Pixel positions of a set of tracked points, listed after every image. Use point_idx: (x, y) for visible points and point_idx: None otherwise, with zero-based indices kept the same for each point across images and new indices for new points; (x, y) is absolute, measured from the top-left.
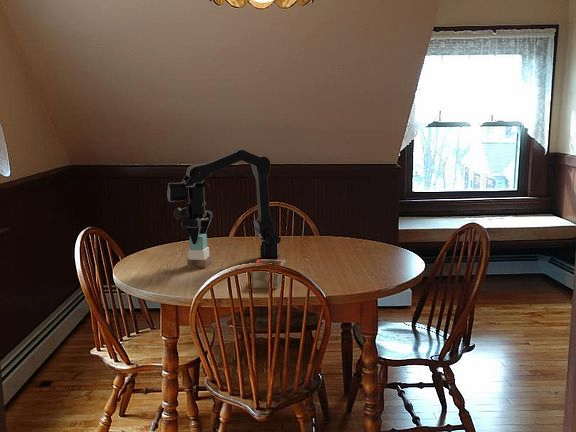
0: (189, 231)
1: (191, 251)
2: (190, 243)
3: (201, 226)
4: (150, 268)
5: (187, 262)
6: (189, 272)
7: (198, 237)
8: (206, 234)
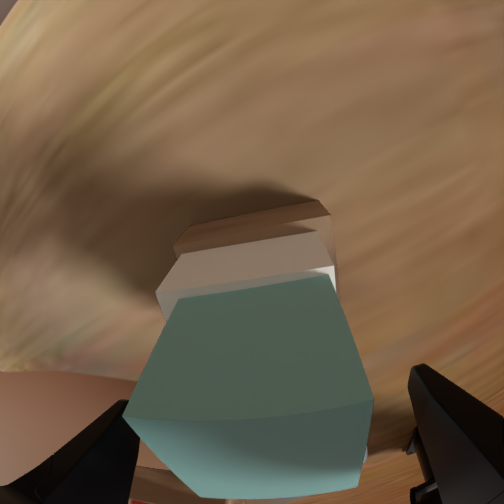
0: (21, 491)
1: (170, 314)
2: (160, 351)
3: (480, 493)
4: (101, 28)
5: (179, 239)
6: (117, 287)
7: (183, 474)
8: (347, 485)
